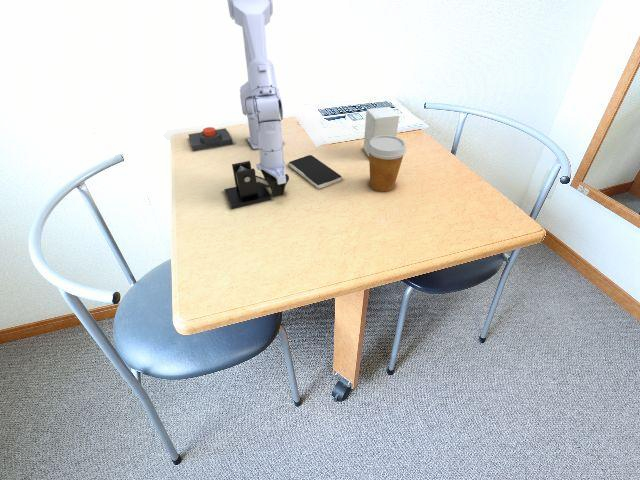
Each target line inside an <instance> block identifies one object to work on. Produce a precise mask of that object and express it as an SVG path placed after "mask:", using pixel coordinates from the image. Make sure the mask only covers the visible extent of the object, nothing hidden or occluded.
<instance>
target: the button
mask: <svg viewBox="0 0 640 480" xmlns="http://www.w3.org/2000/svg"><path fill="white" fill-rule="evenodd" d="M215 130H216V128H215V127H214V126H209V127H208V126H207V127H205V128H203V129H202V131H203V133H204V136H205V137H211V136H214V135H216V132H215Z"/></svg>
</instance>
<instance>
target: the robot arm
mask: <svg viewBox="0 0 640 480" xmlns="http://www.w3.org/2000/svg"><path fill="white" fill-rule="evenodd" d="M227 8H228V13H229V17H230V18H231V20H232V21H234V23H235V25H238V26H239V27H241V29H242V40H243V48H244V55H245V63H246V72H247V81H246V82H245V83H243V84H242V85H240V87H239V88H240V89H239V98H240V106H241V111H242V114H243V115H244V116H246V117H247V123H248V130H249V131H248V132H249V136H248V137H247V138H246V140H247V142H248V143H249V145H250V146H251V148H252V150H258V151H259V160H260V162H259V163H257V164H255V167H256V169H257V170H258V171H260V172H261V174H262V176H263V178H264V179H266V181H267V182H268V184H269V185H270V186H268V185H266V187H267V188H269V187H270V191H271V195H272V197H273V198H276V197H280V196H284V193H285V188H286V186H287V184H288V182H289V180H290V176H289V174H288V173H285V172H286V161H285V158H284V157H285V156H284V155H285V154H284V143H283V127H282V121H283V119H284V106H283V101H282V98H281V97H282V96H281V94H280V90H279V88H278V86H277V79H276V73H275V67H274V66H275V65H274V63H273V62H272V61H271V60H270V59H268V53H267V41H266V25H268V24H269V23H270V22H271V18H272V16H273V14H274V12H273V11H274V5H273V0H227Z"/></svg>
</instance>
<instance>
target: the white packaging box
mask: <svg viewBox="0 0 640 480" xmlns="http://www.w3.org/2000/svg"><path fill="white" fill-rule="evenodd" d="M399 120H400V115H399V114H398V113H397V112H396V111H395V110H394V109H393V108H392V107H391V106H385V107H384V106H383V107H382V106H381V107H373V108H366V111H365V125H364V138H363V151H364V152H365V153H366V155H367V157H369V151H368V149H367V146H368V144H369V142H370V140H371V139H372V138H374V137H376V136H382V135H388V136H395V137H398V135H397V134H398V128H399V127H398V126H399Z"/></svg>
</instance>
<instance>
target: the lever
mask: <svg viewBox="0 0 640 480" xmlns="http://www.w3.org/2000/svg"><path fill="white" fill-rule="evenodd" d="M243 170H248V168H245V167H243V166H240V167H239V169H238V171H243ZM238 171H237V172H238ZM256 182H260V183H263V184H264V185H265V186H267V185H268V186H270V185H269V184H268V182H267V181H266V179H265V178H264V177H261V176H259V175H256Z"/></svg>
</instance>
